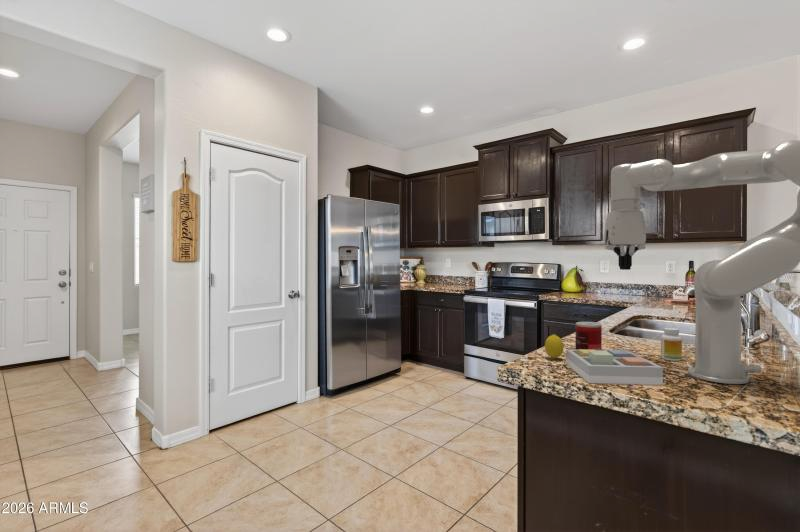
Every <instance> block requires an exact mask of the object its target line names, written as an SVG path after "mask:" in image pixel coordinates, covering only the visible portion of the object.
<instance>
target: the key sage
mask: <svg viewBox="0 0 800 532" xmlns="http://www.w3.org/2000/svg"><path fill="white" fill-rule="evenodd" d="M589 362H590V363H591V364H593V365H613V355H612V354H610V353H609V352H607V351H589Z"/></svg>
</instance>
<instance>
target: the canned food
mask: <svg viewBox="0 0 800 532" xmlns="http://www.w3.org/2000/svg"><path fill="white" fill-rule="evenodd" d="M602 329H603V328H602V324H601V323H599V322H595V321H578V322H575V350H578V349H590V350H602V342H603V341H602V338H603V337H602V333H603V332H602Z"/></svg>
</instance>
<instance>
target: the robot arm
mask: <svg viewBox="0 0 800 532" xmlns="http://www.w3.org/2000/svg"><path fill="white" fill-rule="evenodd" d="M788 180H789V181H791V182H792V183H794V184H795V185H796V186H798V187H800V140H798V139H797V140H788V141H785V142H782V143H780V144H778V145H776V146H775V147H774V148H773V147H772V148H763V149H754V150H753V149H752V150H743V151H731V152H721V153H717V154H713V155H710V156H707V157H705V158H702V159H699V160H696V161H693V162H692V161H691V162H687V163H683V164H682V163H681V164H672V162H671V161H670V160H668V159H665V158H656V159H651V160H647V161H643V162H637V163H623V164H618V165H615V166H613V167H612V169H611V170H610V212H607V214H606V219H605V224H604V225H605V226H604V234H603V236H604V238H603V239H604V240H603V242H604V243H603V244H604V245H605V247H604V248H605V249H606V250H609V251H613V252H614V253H615V255H616V256H617V257H618V267H619V270H622V271H623V270H625V271H627V270H628V271H629V270H631V267H632V265H633V264H632V263H633V261H632V260H633V256H634V254H635V253H636V252H637V251H641V250H645V249H646V244H645V243H646V241H647V232H646V231H647V230H646V229H647V227H646V221H645V216H644V213H643V211H642V210H641V209H642V208H645V207H646V203H645V202H642V200H641V187H642V188H643V189H645V190H647V191H650V192H663V191H665V192H666V191H681V190H690V189H691V190H693V189H699V188H700V189H701V188H713V187H719V186H720V187H723V186H736V185H751V184H753V185H754V184H768V183H769V184H771V183H780V182H785V181H788ZM625 246H626V247H625ZM799 264H800V189H799V190H798V192H797V195H796V209H795V211H794V213H793V214H792V215H791V216H790V217H788V218H787V219H785V220H784V221H782V222H781V223H778V224H777V225H775V226H773V227H772V228H770V229H768V230H766V231H765V232H762V233H761V234H759V235H757V236H755V237H753V238H751V239H749V240H746V241H745V242H744V243H743V244H742V245H741V246H740V248H739V249H738V250H737V251H735V252H733V253H732V254H731V255H729V256H726V257H725V258H723V259H715V260H709V261H706V262H704V263H702V264H701V265H700V266H699V267H698V268H697V269H696V270H695V273H694V275H693V276H694V277H693V289H694V290H693V291H694V299H695V301H694V303H695V322H694V323H695V325H694V326H695V332H694V334H695V335H694V337H695V338H694V341H695V343H694V344H695V345H694V346H695V347H694V352H695V353H694V364H695V365H694V366H691V367H689V368H687V373H688V374H689V375H690V376H692V377H693V378H696V379H700V380H704V381H709V382H711V383H719V384H729V385H742V384H747V383H749V382H750V380H749V376H748V375H747V374H748V373H761V372H762V366H760V365H759V364H747V363H745V362H742V302H741V297H742V296H745V295H747V294H749V293H751V292H753V291H755V290H757V289H759V288H761V287H763V286H765V285H767V284H769V283H771V282H773V281H775V280H777V279H778V278H781V277H783V276H784V275H786V274H788V273H790V272H791V271H793V270H794V269H796V268H797V267H798V266H799Z"/></svg>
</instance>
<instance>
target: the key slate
mask: <svg viewBox="0 0 800 532" xmlns="http://www.w3.org/2000/svg"><path fill="white" fill-rule="evenodd" d="M607 350H608V352H609V353H610V354H612V355H613V357H632V354H631V353H629V352H627V351H628V350H626V349H607Z"/></svg>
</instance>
